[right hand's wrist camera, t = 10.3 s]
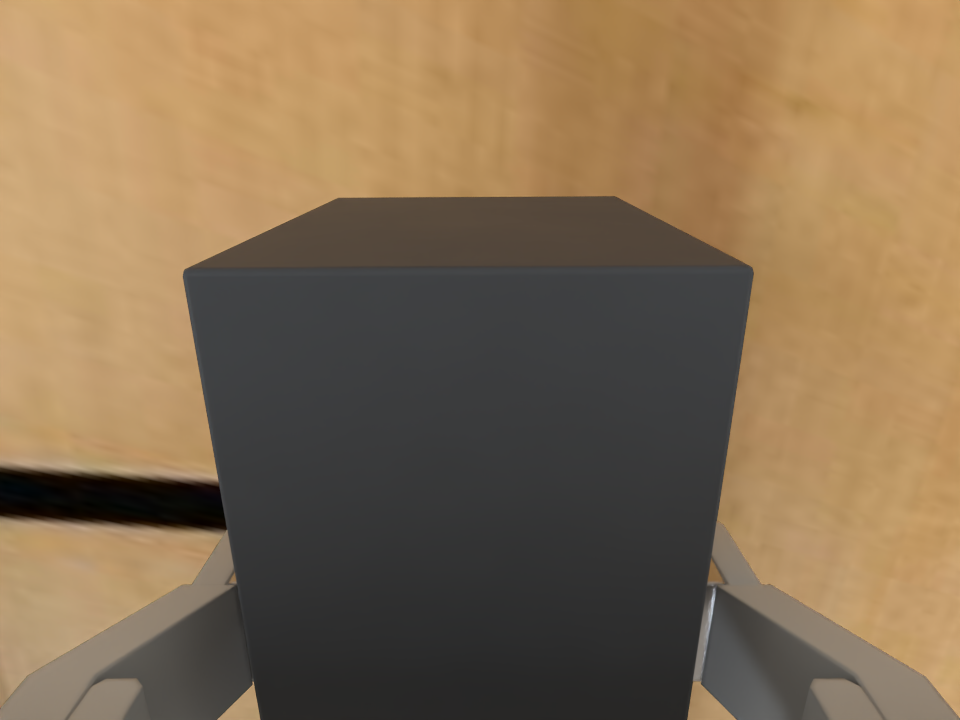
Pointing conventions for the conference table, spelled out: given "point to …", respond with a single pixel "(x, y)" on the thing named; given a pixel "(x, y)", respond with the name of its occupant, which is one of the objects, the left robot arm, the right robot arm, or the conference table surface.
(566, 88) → the conference table surface
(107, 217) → the conference table surface
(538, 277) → the post
